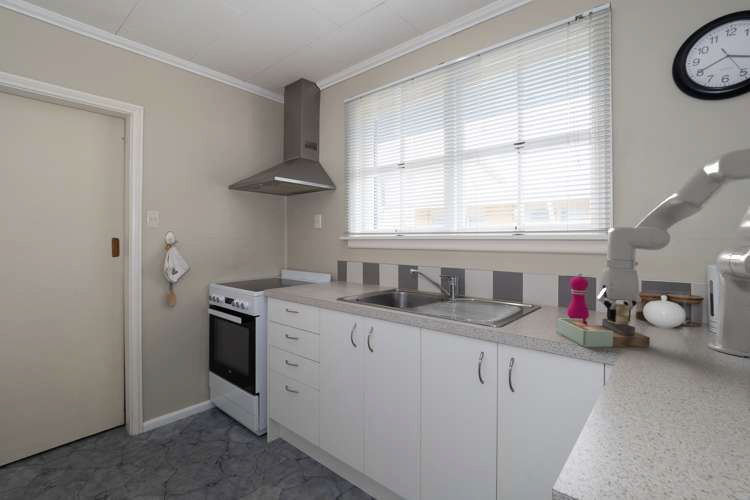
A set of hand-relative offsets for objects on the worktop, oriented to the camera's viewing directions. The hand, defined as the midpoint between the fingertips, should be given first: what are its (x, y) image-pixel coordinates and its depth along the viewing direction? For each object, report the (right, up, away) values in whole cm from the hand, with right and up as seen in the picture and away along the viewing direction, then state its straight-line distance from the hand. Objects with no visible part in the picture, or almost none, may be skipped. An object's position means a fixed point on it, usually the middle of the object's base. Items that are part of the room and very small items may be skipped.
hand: (618, 320), depth 113 cm
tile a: (-10, -4, -3) cm, 11 cm away
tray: (-12, -6, 0) cm, 13 cm away
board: (-1, -6, 0) cm, 7 cm away
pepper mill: (-2, -6, +19) cm, 20 cm away
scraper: (0, -3, 0) cm, 3 cm away
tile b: (-10, -4, +3) cm, 11 cm away
